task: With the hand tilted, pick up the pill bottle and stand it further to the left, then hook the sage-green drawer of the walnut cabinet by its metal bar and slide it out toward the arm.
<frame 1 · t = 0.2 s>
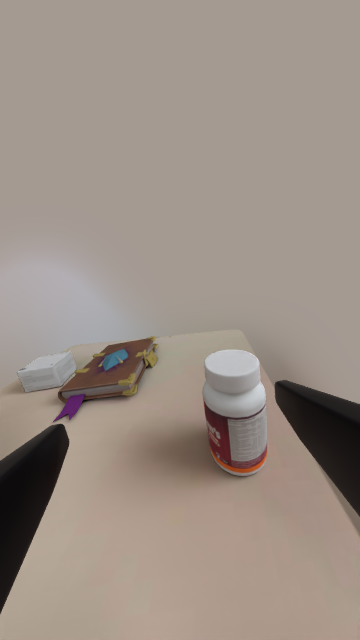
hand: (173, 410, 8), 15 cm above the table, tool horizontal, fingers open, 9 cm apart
pill bottle: (237, 450, 21), on the table
small box: (53, 380, 43), on the table
book: (118, 376, 40), on the table
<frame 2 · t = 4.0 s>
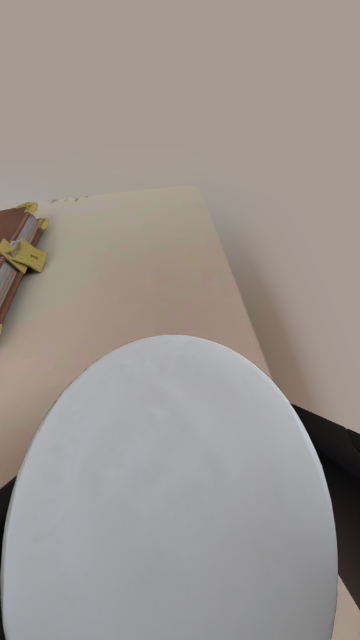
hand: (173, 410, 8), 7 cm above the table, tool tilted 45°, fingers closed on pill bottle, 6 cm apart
pill bottle: (184, 445, 13), on the table, touching gripper
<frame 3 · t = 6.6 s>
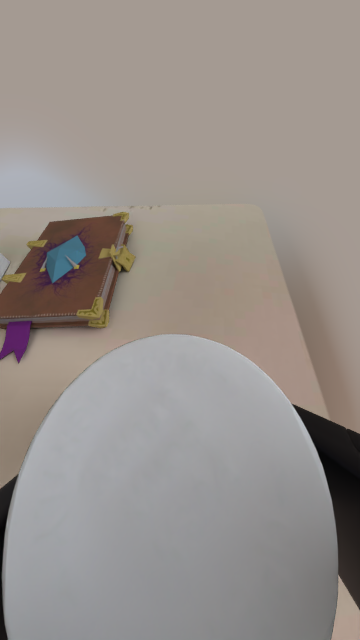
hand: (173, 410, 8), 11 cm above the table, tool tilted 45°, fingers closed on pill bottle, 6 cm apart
pill bottle: (184, 444, 13), point 4 cm above the table, touching gripper
book: (79, 284, 28), on the table
when the fingers open (7 cm above the table, at t = 9.4 s): pill bottle stays where it is, on the table.
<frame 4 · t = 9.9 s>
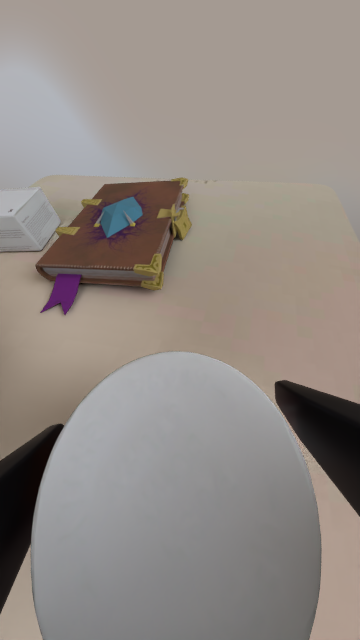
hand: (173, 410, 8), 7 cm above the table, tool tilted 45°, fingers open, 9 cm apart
pill bottle: (185, 448, 13), on the table
small box: (29, 237, 28), on the table
book: (129, 248, 26), on the table
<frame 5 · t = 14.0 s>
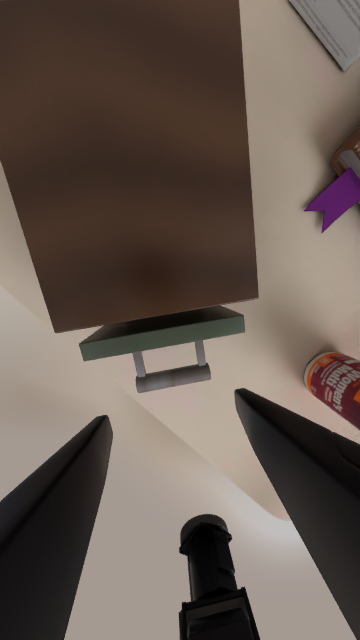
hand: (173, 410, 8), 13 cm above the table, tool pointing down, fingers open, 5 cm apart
drawer: (157, 283, 15), point 5 cm above the table, slide at 1.0 cm
pill bottle: (323, 372, 24), on the table
small box: (343, 0, 16), on the table
cabinet: (149, 232, 18), on the table
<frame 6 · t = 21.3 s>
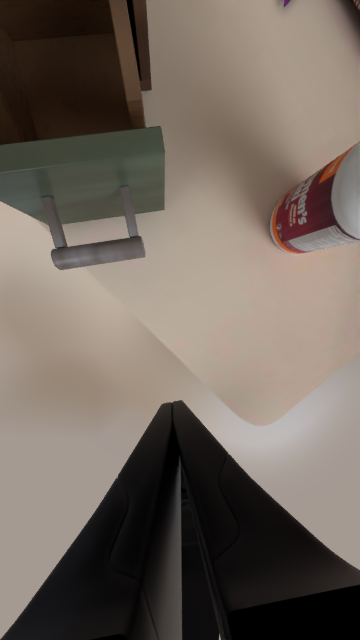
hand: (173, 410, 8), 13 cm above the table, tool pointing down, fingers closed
drawer: (76, 132, 12), point 5 cm above the table, slide at 8.6 cm
pill bottle: (294, 224, 19), on the table
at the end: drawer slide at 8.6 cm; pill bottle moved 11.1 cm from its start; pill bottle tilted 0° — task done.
